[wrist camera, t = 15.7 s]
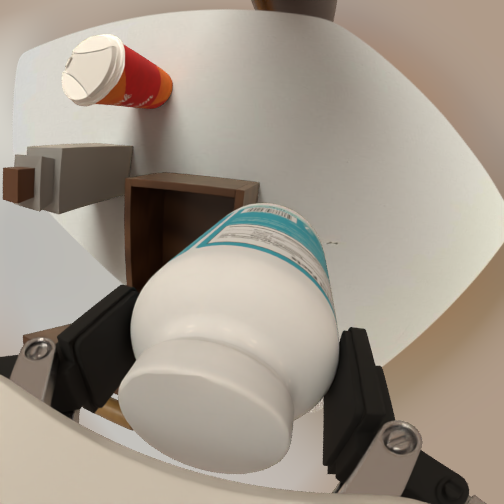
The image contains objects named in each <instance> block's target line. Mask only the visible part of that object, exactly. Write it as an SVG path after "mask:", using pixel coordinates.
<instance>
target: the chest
mask: <svg viewBox="0 0 504 504" xmlns="http://www.w3.org/2000/svg"><path fill="white" fill-rule="evenodd" d="M258 191H259V182H251V181H244V180H236V179H227V178H219V177H209V176H200V175H189V174H178V173H166V172H162V173H155V174H148V175H142V176H136V177H130V178H125V208H124V229H125V263H126V280H127V286H130V287H134V288H136V290H137V292H138V293H139V294H140V292H141V291H142V289H143V287H144V286H145V285H146V283H147V282H148V281H149V280H150V278H151V277H152V276H153V275H154V274H155V273H156V272H157V271H159V270H160V269H161V268H162V267H163V266H164V265H165V264H167V263H168V262H169V261H170V260H171V259H173V258H174V257H175V256H176V255H178V254H179V253H180V252H181V251H183V250H184V249H185V248H186V247H188V246H189V245H190V244H191V243H193V242H194V241H195V240H196V239H198V238H199V237H200V236H201V235H203V234H204V233H205V232H206V231H208V230H209V229H210V228H211V227H213V226H214V225H215V224H216V223H218V222H219V221H220V220H221V219H223V218H224V217H225V216H227V215H228V214H230V213H231V212H233V211H235V210H237V209H238V208H241V207H243V206H246V205H250V204H256V203H257V199H258Z"/></svg>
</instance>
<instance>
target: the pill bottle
mask: <svg viewBox="0 0 504 504" xmlns="http://www.w3.org/2000/svg"><path fill="white" fill-rule="evenodd" d="M130 332H131V342H132V348H133V352H134V355H135V358H136V361H135V363H134V365H133V366H132V367H131V369H130V370H129V372H128V373H127V374H126V376H125V377H124V379H123V380H122V382H121V384H120V387H119V391H118V401H119V405H120V409H121V411H122V414H123V415H124V417H125V419H126V421H127V422H128V423H129V425H130V426H131V427H132V429H133V430H134V431H135V432H136V433H137V434H138V435H139V436H140V437H141V438H142V439H143V440H144V441H146V442H147V443H148V444H149V445H151V446H152V447H154V448H155V449H157V450H158V451H160V452H161V453H163V454H165V455H167V456H168V457H170V458H172V459H174V460H177V461H179V462H181V463H183V464H186V465H189V466H192V467H195V468H198V469H202V470H206V471H210V472H216V473H226V474H245V473H252V472H257V471H261V470H264V469H267V468H269V467H271V466H273V465H275V464H277V463H278V462H279V461H281V460H282V459H283V457H284V456H285V455H286V454H287V452H288V450H289V447H290V444H291V438H292V430H293V421H294V420H296V419H298V418H299V417H301V416H303V415H304V414H306V413H307V412H308V411H310V410H311V409H312V408H313V407H315V406H316V405H317V404H318V403H319V402H320V400H321V399H322V398H323V396H324V395H325V394H326V393H327V391H328V390H329V388H330V386H331V384H332V382H333V380H334V377H335V374H336V371H337V367H338V363H339V346H340V345H339V337H338V328H337V321H336V315H335V309H334V303H333V298H332V292H331V287H330V281H329V276H328V270H327V265H326V260H325V256H324V251H323V248H322V244H321V241H320V239H319V237H318V235H317V233H316V232H315V230H314V229H313V227H312V226H311V225H310V224H309V222H308V221H307V220H305V219H304V218H303V217H302V216H301V215H299V214H298V213H296V212H295V211H293V210H291V209H289V208H287V207H284V206H281V205H277V204H271V203H256V204H250V205H246V206H243V207H241V208H238V209H237V210H235V211H233V212H231V213H230V214H228V215H227V216H225V217H224V218H223V219H221V220H220V221H219V222H218V223H216V224H215V225H214V226H213V227H211V228H210V229H209V230H208V231H206V232H205V233H204V234H203V235H201V236H200V237H199V238H198V239H196V240H195V241H194V242H193V243H191V244H190V245H189V246H188V247H186V248H185V249H184V250H183V251H181V252H180V253H179V254H178V255H176V256H175V257H174V258H173V259H171V260H170V261H169V262H168V263H167V264H165V265H164V266H163V267H162V268H161V269H160V270H159V271H157V272H156V273H155V274H154V275H153V276H152V277H151V278H150V280H149V281H148V282H147V283H146V285H145V286H144V287H143V289H142V291H141V292H140V294H139V296H138V298H137V300H136V303H135V306H134V309H133V313H132V318H131V327H130Z"/></svg>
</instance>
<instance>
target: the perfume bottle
mask: <svg viewBox="0 0 504 504" xmlns="http://www.w3.org/2000/svg"><path fill="white" fill-rule="evenodd" d="M132 151H133V146H125V145H114V144H101V143H84V144H59V145H43V146H31V147H27V155H15V165H14V167H8V168H3V200H6V201H10V202H13V203H14V204H16V205H19V206H23V207H26V208H29V209H33V210H36V211H41V210H46V211H49V212H53V213H56V214H61V213H64V212H68V211H71V210H74V209H77V208H80V207H84V206H87V205H90V204H94V203H97V202H101V201H104V200H108V199H112V198H115V197H119V196H123V195H125V178H129V174H130V166H131V158H132Z"/></svg>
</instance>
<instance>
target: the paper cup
mask: <svg viewBox="0 0 504 504" xmlns="http://www.w3.org/2000/svg"><path fill="white" fill-rule="evenodd" d="M72 53H74V54H72V56H71V57H69V60H68V62H67V64H66V66H65V67H66V69H65V72H63V74H62V87H63V90H64V93H65V94H66V96H67V97H68V98H69V99H71V100H72V101H73V102H74V103H75V104H77V105H80V106H90V105H93V104H104V105H115V106H125V107H134V108H144V109H153V108H157V107H159V106H161V105H162V104H164V103H165V102H166V101H167V100H168V98H169V96H170V94H171V92H172V80H171V78H170V76H169V75H168V74H167V73H166V72H165V71H163V70H162V69H161V68H159V67H158V66H156V65H155V64H153V63H152V62H150V61H149V60H147V59H146V58H144V57H143V56H141V55H140V54H138V53H136V52H135V51H133V50H132V49H130V48H128V47H127V46H125V45H123V43H122V41H121V40H120V39H119V38H118V37H116V36H114V35H110V34H105V35H96V36H92V37H89V38H87V39H85V40H84V41H82V42H81V43H80V44H79V45H78V46H77V47H76V48H75V49H74V50H73V51H72Z"/></svg>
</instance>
